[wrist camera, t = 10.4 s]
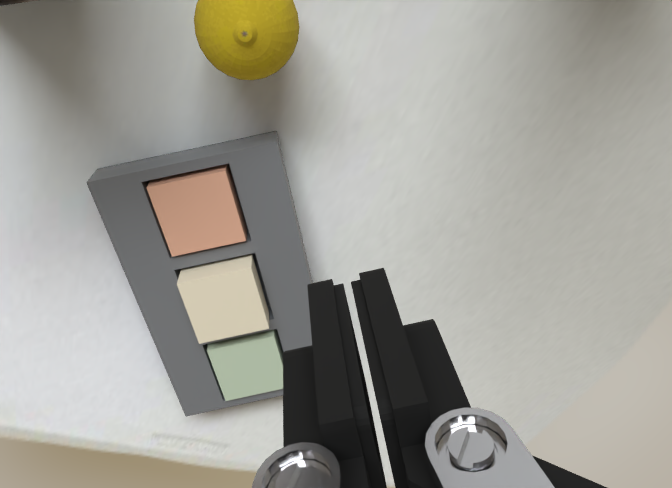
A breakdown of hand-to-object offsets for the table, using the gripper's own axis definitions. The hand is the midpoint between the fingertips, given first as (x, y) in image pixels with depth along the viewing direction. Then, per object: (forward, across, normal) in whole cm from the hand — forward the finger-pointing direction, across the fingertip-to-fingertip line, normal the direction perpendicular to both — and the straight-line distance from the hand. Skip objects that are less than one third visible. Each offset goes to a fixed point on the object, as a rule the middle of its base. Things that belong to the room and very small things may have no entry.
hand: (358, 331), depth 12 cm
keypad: (+26, +9, +13) cm, 30 cm away
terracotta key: (+25, +9, +6) cm, 27 cm away
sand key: (+24, +9, +13) cm, 29 cm away
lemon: (+27, +3, -4) cm, 27 cm away
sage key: (+25, +9, +19) cm, 33 cm away
